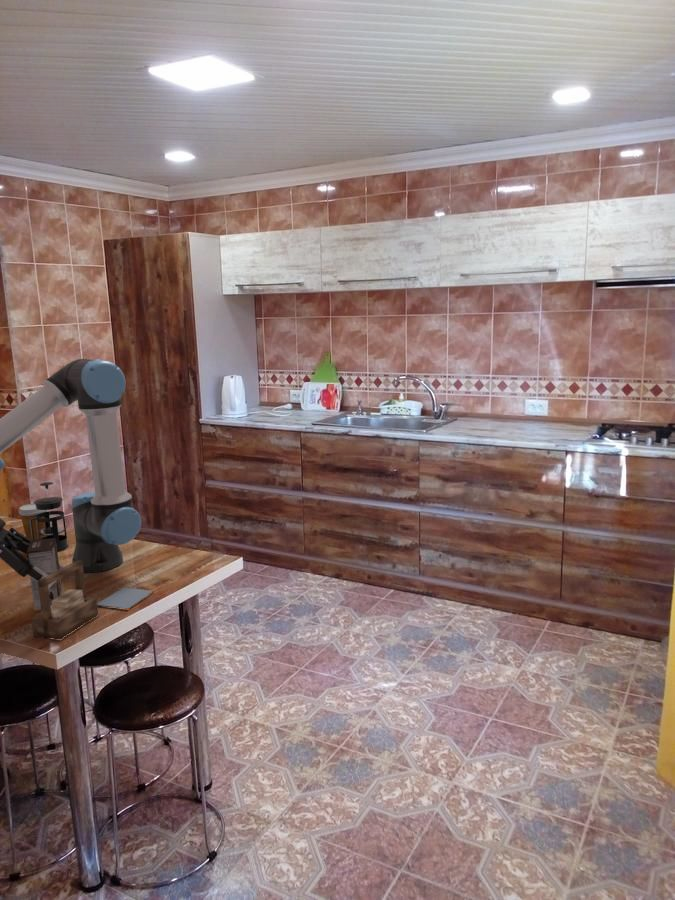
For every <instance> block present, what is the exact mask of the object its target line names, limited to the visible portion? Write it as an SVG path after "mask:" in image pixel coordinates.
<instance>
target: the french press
mask: <svg viewBox="0 0 675 900" xmlns="http://www.w3.org/2000/svg"><path fill="white" fill-rule="evenodd" d="M51 485H54V483H53V482H52V481H46V482H41V483H40V484H39V486H40V487H41V486H43V487H45V489H46V495H47V496H46V497H43V498H38V499H35V501H33V503H34V504H35V505H36V509H37V510H47V512H43V513H40V514H37V515H36V517H35V518H30V528H31V536H32V540H34V535H33V526H32V520H36V525H37V534H38V540H39V539H40V535H42V536H46V537H43V538H41V539H51V538H56V545H57V553H58V552H62V550H63V551H65V550H67V549H68V548H69V543H68V537H67V526H66V518H65V517H66V516H65V512H64V511H63V510H54V509H58V508H60V507H61V506H62V501H63V500H64V498H63V497H59V496H52V497H51V496H49V490H48V489H49V486H51ZM53 515H55V516H54V517H52V516H53ZM56 515H58V516H56ZM43 516H44V518H40V517H43ZM60 520H62V522H63V523H62V524H63V526H58V521H60ZM38 522H45V528H44V529H42V530H40V531H39V526H38ZM62 533H64V534H62Z"/></svg>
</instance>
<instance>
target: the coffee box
mask: <svg viewBox="0 0 675 900" xmlns="http://www.w3.org/2000/svg"><path fill="white" fill-rule="evenodd" d="M58 554H59V553H58V552H57V545H56V538H51V539H39V540H32V541H30V544H29V547H28V550H27V554H26V555H27V561H28V562H29V563H30V564H31V565H32V566H33V567H34V566H36V567H38V568H39V569H41V570H42V571H43V572H45V573H46V574H48V575H50V574H52V573H54V572H56V571H58V570H59V563H60V561H59V555H58ZM29 578H30V586H31V595H32V600H33V602H32V603H33V610H34V611H36V610H37V611H39V610H41V603H40V595H39V587H38V582H37V581H36V580H34V579H33V578H32V577H30V576H29ZM63 593H64V592H63V587H62V578H60V579H58V580H56V582H55V583H54V584H53V585H52V586H51V587H50V588H49V597H50V606H51V605H52V601H53V600H54V599H56V598H57V597H59V596H60V595H61V594H63Z"/></svg>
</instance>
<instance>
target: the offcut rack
mask: <svg viewBox="0 0 675 900" xmlns="http://www.w3.org/2000/svg"><path fill="white" fill-rule="evenodd" d="M71 573H74V578H75V589H71V588H69V589H67V590H65V591H64V592H63V593H62V594H61V595H60V596H59V597H57V598H56V599H54V600H53V601H52V605H51V606H50V597H49V589H48V585H49V584H50V583H52V582H54V581H56V580H58V579H60V578H61V579H62V578H64V577H65V576H67V575H69V574H71ZM85 583H86V582H85V572H83V563H82V561H80V560H77V561H75V562H73V563H72V562H71V563H70V564H68V565H65V566H64V567H63V568H61V569H59V570H58V571H56V572H54V573H52V574H50V575H48V576H46V577H44V578H42V579H40V580H38V587H39V595H40V603H41V609H40V610H41V612H39V613H37V614H36V615H35V616H33V617H31V623H32V631H33V632H32V633H33V637H34V636H37V637H36V638H38V637H44V638H54V639H62V638H63V637H64V636H66V635H67V634H69V633H71V632H72V631H74V630H75V629H77V628H78V627H80V626H81V625H83V624H84V623H86V622H88V621H89V620H91V619H92V618H94V617H96V616H97V615H98V616H99V611H98V608H99V607H97V604H98V599H97V598H95V597H88V596H87V591H86V584H85ZM44 638H43V639H44Z"/></svg>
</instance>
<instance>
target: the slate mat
mask: <svg viewBox="0 0 675 900" xmlns="http://www.w3.org/2000/svg"><path fill="white" fill-rule="evenodd" d="M152 591H153V590H149V589H147V590H146V589H142V588H141V589H140V588H132V587H125V586H123V587H122V588H121V589H119V590H117V591H115V592H114V593H113V594H110V595H109V596H108V597H106V598H104V599H103V600H101V601H100V602H97V606H105V607H116V608H125V609H128V608H130V607H131V606H133V605H134V604H136V603H137V602H139V601H140V600H142V599H143V598H145V597H146V596H147V595H149V594H150V593H152ZM149 592H150V593H149ZM148 593H149V594H148Z"/></svg>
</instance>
